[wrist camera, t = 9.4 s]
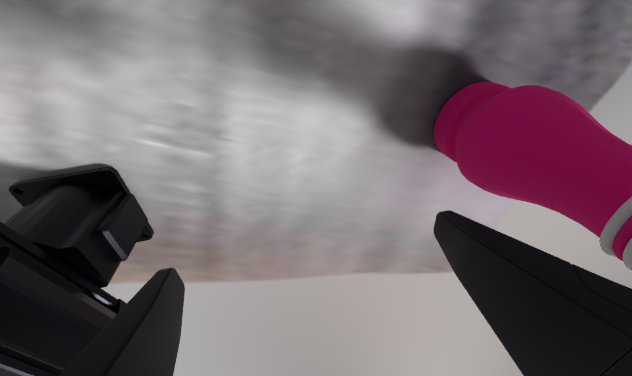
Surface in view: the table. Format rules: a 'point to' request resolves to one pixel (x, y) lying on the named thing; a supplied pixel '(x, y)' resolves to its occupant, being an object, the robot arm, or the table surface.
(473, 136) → the pepper mill
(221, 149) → the table surface
